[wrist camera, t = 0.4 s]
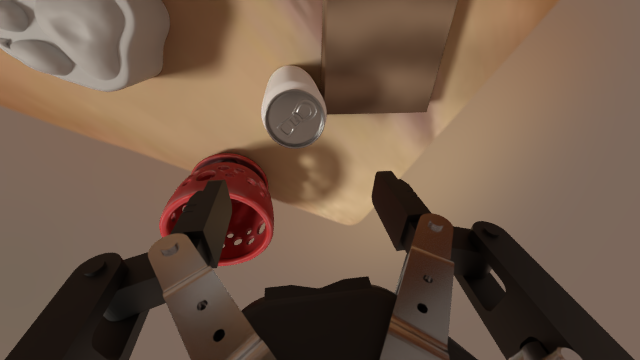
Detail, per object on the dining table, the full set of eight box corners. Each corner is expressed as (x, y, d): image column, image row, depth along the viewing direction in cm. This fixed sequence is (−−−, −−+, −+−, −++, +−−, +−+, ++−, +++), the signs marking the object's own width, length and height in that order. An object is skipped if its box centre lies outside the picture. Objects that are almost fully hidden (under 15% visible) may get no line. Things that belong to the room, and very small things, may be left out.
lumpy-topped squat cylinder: (158, 89, 29) (117, 109, 22) (20, 29, 24) (-91, 31, 17) (175, -3, 24) (130, -14, 17) (8, -98, 20) (-149, -169, 12)
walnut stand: (323, -25, 25) (329, -33, 22) (442, -19, 26) (464, -25, 23) (320, 105, 33) (324, 114, 29) (412, 103, 34) (426, 112, 31)
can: (324, 92, 32) (343, 122, 22) (291, 123, 34) (295, 164, 24) (291, 52, 28) (295, 66, 19) (256, 89, 30) (244, 120, 20)
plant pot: (229, 221, 42) (213, 280, 32) (172, 169, 35) (128, 225, 25) (290, 190, 40) (292, 243, 30) (242, 128, 33) (225, 172, 23)
